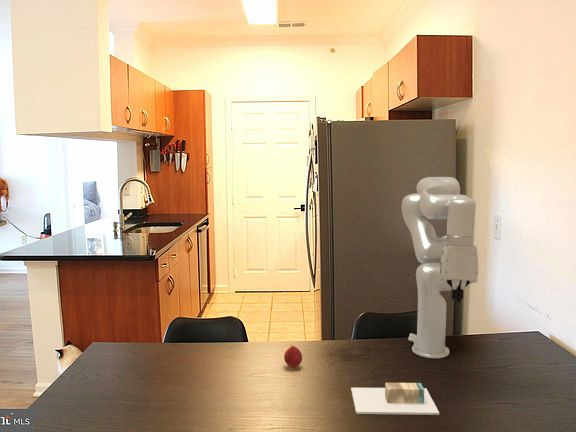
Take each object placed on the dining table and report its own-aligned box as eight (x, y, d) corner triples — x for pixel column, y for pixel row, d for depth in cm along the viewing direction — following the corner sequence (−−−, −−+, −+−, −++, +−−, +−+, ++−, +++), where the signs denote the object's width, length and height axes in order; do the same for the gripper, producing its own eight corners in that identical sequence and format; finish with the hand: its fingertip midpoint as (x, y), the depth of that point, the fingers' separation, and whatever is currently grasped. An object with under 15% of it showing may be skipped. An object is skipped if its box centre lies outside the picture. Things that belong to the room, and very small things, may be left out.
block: (387, 389, 138) (424, 389, 138) (385, 382, 142) (420, 383, 141) (387, 402, 138) (423, 403, 138) (385, 396, 142) (420, 396, 142)
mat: (356, 413, 134) (356, 411, 134) (351, 389, 148) (351, 387, 148) (439, 414, 133) (439, 412, 133) (426, 390, 147) (426, 388, 147)
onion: (304, 365, 164) (304, 342, 163) (299, 373, 159) (299, 348, 158) (287, 363, 166) (287, 340, 165) (281, 370, 161) (281, 346, 160)
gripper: (436, 242, 142) (433, 305, 145) (490, 243, 141) (486, 306, 144) (431, 237, 150) (428, 296, 153) (482, 238, 149) (478, 298, 151)
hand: (456, 301), depth 148 cm, fingers closed
